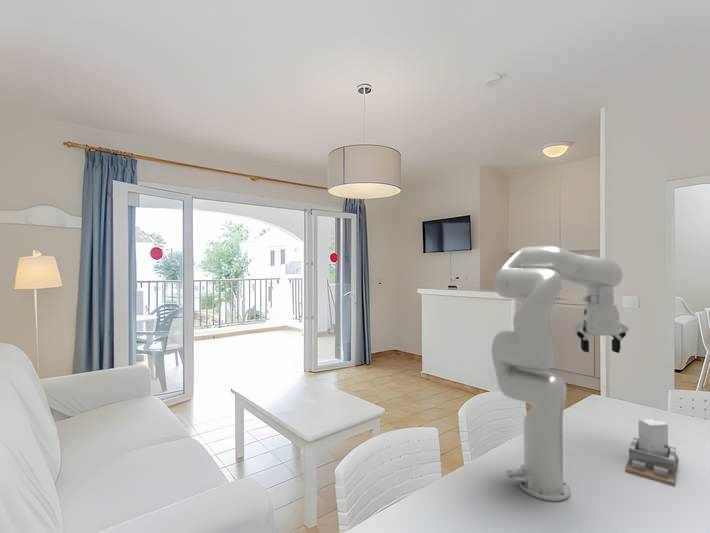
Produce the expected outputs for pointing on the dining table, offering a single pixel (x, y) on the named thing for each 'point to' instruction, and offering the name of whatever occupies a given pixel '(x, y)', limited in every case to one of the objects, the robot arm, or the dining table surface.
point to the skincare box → (653, 437)
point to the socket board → (652, 464)
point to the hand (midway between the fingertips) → (600, 351)
